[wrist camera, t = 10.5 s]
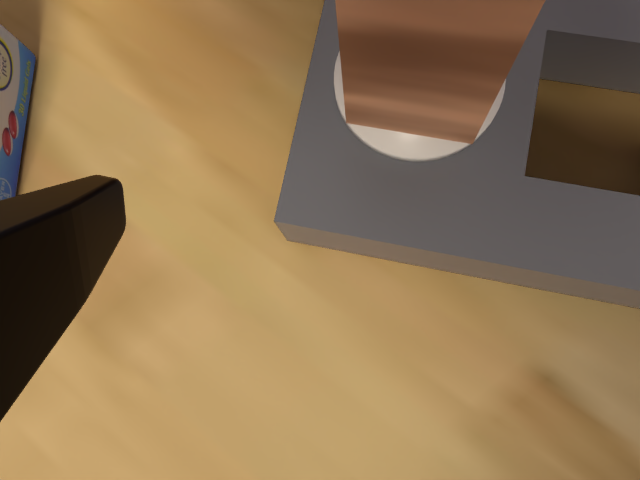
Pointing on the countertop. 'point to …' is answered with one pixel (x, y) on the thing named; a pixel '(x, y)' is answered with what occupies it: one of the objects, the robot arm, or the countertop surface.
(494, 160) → the holder block
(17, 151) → the medicine box
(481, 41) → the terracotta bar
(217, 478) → the countertop surface
